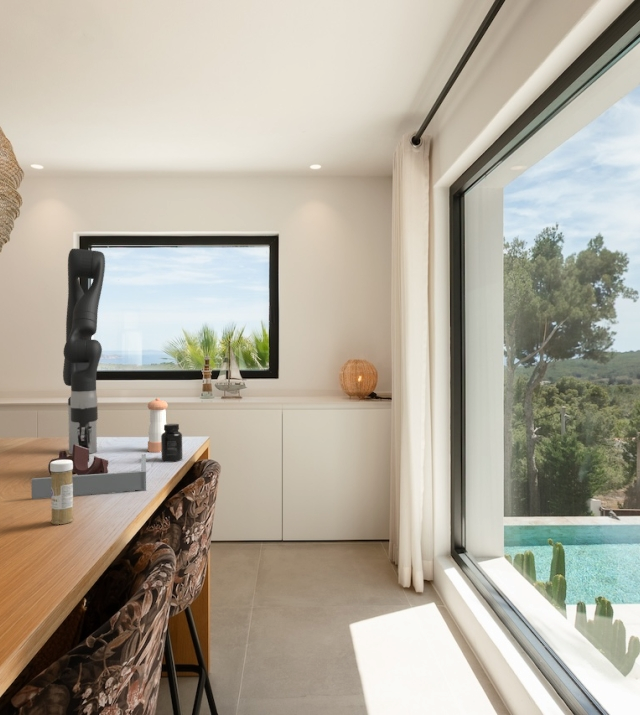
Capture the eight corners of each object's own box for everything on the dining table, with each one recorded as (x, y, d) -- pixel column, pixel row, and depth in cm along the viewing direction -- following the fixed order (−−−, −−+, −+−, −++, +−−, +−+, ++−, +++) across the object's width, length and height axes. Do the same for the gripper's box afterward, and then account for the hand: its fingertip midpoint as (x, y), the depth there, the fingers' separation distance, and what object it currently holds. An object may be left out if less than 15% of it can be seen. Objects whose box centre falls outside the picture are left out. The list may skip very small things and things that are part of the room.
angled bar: (47, 477, 168) (47, 460, 168) (145, 470, 176) (145, 454, 176) (31, 499, 144) (31, 479, 144) (146, 490, 152) (145, 471, 152)
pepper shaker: (168, 451, 206) (167, 398, 205) (147, 452, 204) (146, 399, 203) (168, 448, 213) (168, 397, 212) (148, 449, 211) (147, 397, 211)
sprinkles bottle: (47, 522, 125) (46, 461, 125) (67, 517, 129) (66, 458, 128) (57, 526, 122) (55, 464, 122) (77, 521, 126) (76, 460, 125)
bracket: (100, 473, 159) (100, 438, 163) (46, 483, 162) (48, 449, 166) (112, 477, 165) (112, 443, 169) (60, 486, 168) (62, 453, 172)
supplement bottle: (186, 458, 194) (186, 423, 193) (175, 462, 187) (174, 426, 187) (169, 457, 196) (168, 422, 195) (157, 461, 189) (156, 425, 189)
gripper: (73, 403, 178) (74, 458, 179) (67, 408, 165) (69, 468, 166) (99, 402, 180) (100, 457, 181) (95, 407, 168) (96, 466, 168)
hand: (85, 462), depth 174 cm, fingers closed
